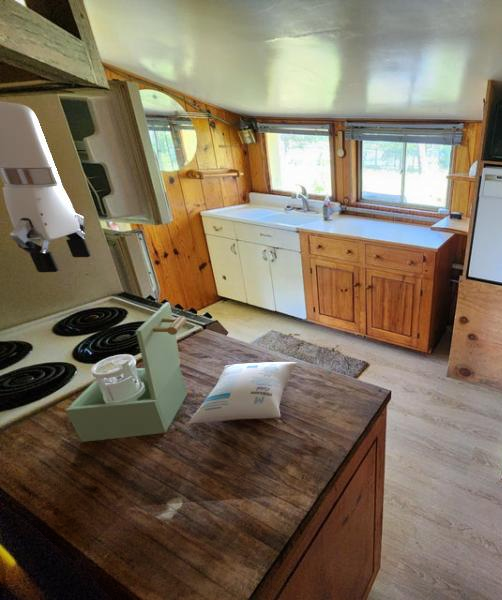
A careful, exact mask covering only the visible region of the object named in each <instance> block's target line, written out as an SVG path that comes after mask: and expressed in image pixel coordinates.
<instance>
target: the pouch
mask: <svg viewBox="0 0 502 600" xmlns="http://www.w3.org/2000/svg"><path fill="white" fill-rule="evenodd" d="M297 365H298V362H295V361H267V362H265V361H264V362H251V363H250V362H248V363H234V364H227V365H225V366H224V367H223V371H222V373H221V375H220V376H219V378H218V380H217V383H216V384H215V386H214V387H213V388H212V390H211V391H210V393H209V394H208V395H207V396H206V397H205V400H204V401H203V402H202V403H201V405H200V406H199V407H198V409H197V410H196V411H195V412H194V414H193V415H192V417H191V418H190V419H189V420H188V422H187V424H202V423H204V424H205V423H215V422H226V421H237V420H257V419H258V420H259V419H276V418H277V419H278V418H281V411H280V404H281V402H282V398H283V392H284V389H285V387H286V385H287V383H288V381H289V379H290V376H291V375H292V373H293V371H294V370H295V368H296V366H297Z"/></svg>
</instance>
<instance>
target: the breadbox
mask: <svg viewBox="0 0 502 600" xmlns="http://www.w3.org/2000/svg"><path fill="white" fill-rule="evenodd" d="M108 371H109V370H104V371H103V372H102V373H107V372H108ZM137 371H138V374H139V376H140V379H141V382H143V383H144V385H145V388H146V390H145V392H144V394H143V395H142V396H140V397H139V398H138V401H131V402H120V403H109V404H106V403H105V401H104V399H103V393H102V391H101V389H100V387H99V384H98V382H97V380H96V379H95V380H94V381H93V382H92V383H91V384H90V385H89V386H88V387H87V388H86V389H84V391H83V392H82V393H81V394H80V395H79V396H78V397H77V398H76V399H75V400H74V401H73V402H72V403H70V404H69V406H68V407H67V408H66V409H65V412H66V414H67V416H68V418H69V420H70V422H71V424H72V426H73V428H74V430H75V431H76V434H77V436H78V438H79V439H80V441H81V443H86V442H95V441H96V442H97V441H105V440H113V439H122V438H129V437H131V438H132V437H140V436H141V437H142V436H150V435H157V434H166V433H167V431H168V429H169V427H170V426H171V424H172V423H173V421H174V419H175V417H176V415H177V413H178V411H179V410H180V408H181V406H182V405H183V403H184V401H185V399H186V397H187V396H188V391H187V387H186V384H185V381H184V377H183V374H182V370H181V366H179V367H178V368H177V370H176V371H175V373H174V374H173V376H172V377H171V378H170V380H169V381H168V383H167V384H166V386H165V387H164V389H163V390H162V392H161V393H160V395H159V396H158V398H157V399H156V400H152V399H151V395H150V390H149V386H148V381H147V377H146V373H145V368H144V367H139V368H137ZM118 379H121V377H118Z"/></svg>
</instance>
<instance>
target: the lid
mask: <svg viewBox="0 0 502 600" xmlns="http://www.w3.org/2000/svg"><path fill="white" fill-rule="evenodd" d="M187 320H188V319H187V317H186V316H184V315H179V316H177V317H173V311H172V307H171V302H170V301H165V302H164V303H163V304H162V305H161V307H159V308H158V309H157V310H156V311H155V312H154V313H153V314H152V315H151V316H150V317H148V319H146V321H144V322H143V323H142V324H141V325H140V326H139V327H138V328H137V329H136V330H135V333H136V337H137V342H138V346H139V350H140V355H141V359H142V364H143V368H145V373H146V377H147V381H148V386H149V390H150V395H151V399H152V400H156V399H157V398H158V396H159V395H160V393H161V392H162V390H163V389H164V387H165V386H166V384H167V383H168V381H169V380H170V378H171V377H172V376H173V374H174V373H175V371H176V370H177V368H178V367H180V365H181V363H182V362H181V357H180V352H179V347H178V341H177V336H176V334H178V332H179V331H180V330H181V329H182V328H183V326H184V325H185V324H186V322H187Z"/></svg>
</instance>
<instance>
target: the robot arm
mask: <svg viewBox="0 0 502 600" xmlns="http://www.w3.org/2000/svg"><path fill="white" fill-rule="evenodd" d="M55 165H56V164H55V162H54V160H53V157H52V154H51V152H50V149H49V147H48V144H47V142H46V139H45V136H44V133H43V131H42V128H41V126H40V123H39V119H38V117H37V116H36V113H35V112H34V111H33V109H32V108H30V107H29V106H27V105H25V104H22V103H17V102H9V101H0V178H1V181H2V183H3V187H2V192H3V198H4V203H5V207H6V210H7V213H8V215H9V219H10V222H11V224H12V226H13V229H12V231H11V232H10V233H9V237H10V239H12V240H13V242H14V243H16V244H17V246H18V247H19V248H20V249H22V250H24V251H25V252H24V253H26V254H29V256H30V258H31V260H32V262H33V265H34V267H35V268H36V271H37V272H38V273H57V272H59V271H60V269H59V267H58V264H57V262H56V259H55V257H54V255H53V252H52V251H48V250H49V246H50V241H55V240H57V239H60V238H64V237H66V238H67V239H65V241H66V244H67V247H68V248H69V251H70V254H71V256H72V257H73V258H90V257H91V255H92V254H91V252H90V250H89V249H90V248H89V247H88V244H87V241H86V237H87V236H86V234H85V230H86V227H85V224H84V223H85V222H84V221H85V219H84V216H83V215H80V214H78V213H76V210H75V208H74V206H73V204H72V202H71V200H70V198H69V196H68V194H67V192H66V190H65V189H64V187H63V184H62V181H61V178H60V175H59V174H58V171H57V168H56V166H55ZM37 243H39V244H37Z"/></svg>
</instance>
